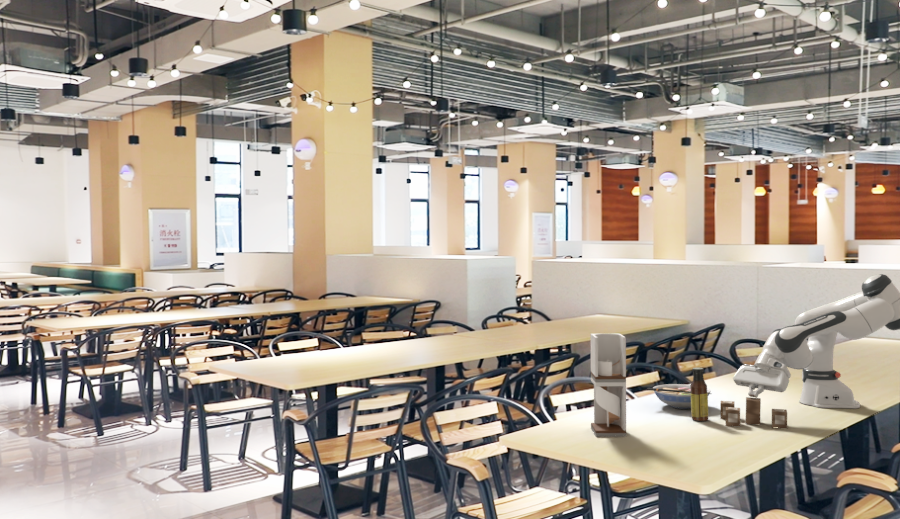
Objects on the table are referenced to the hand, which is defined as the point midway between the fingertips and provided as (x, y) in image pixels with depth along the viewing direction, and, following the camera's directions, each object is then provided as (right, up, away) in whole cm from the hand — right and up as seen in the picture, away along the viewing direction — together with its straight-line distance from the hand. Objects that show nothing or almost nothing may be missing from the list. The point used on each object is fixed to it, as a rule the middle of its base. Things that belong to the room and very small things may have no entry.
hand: (752, 396), depth 291 cm
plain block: (0, -10, 0) cm, 10 cm away
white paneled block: (-6, -10, +9) cm, 15 cm away
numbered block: (+8, -10, -6) cm, 14 cm away
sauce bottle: (-18, -10, +6) cm, 22 cm away
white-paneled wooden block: (-8, -10, -2) cm, 13 cm away
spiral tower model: (-56, -11, -11) cm, 58 cm away
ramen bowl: (-18, -10, +28) cm, 35 cm away
